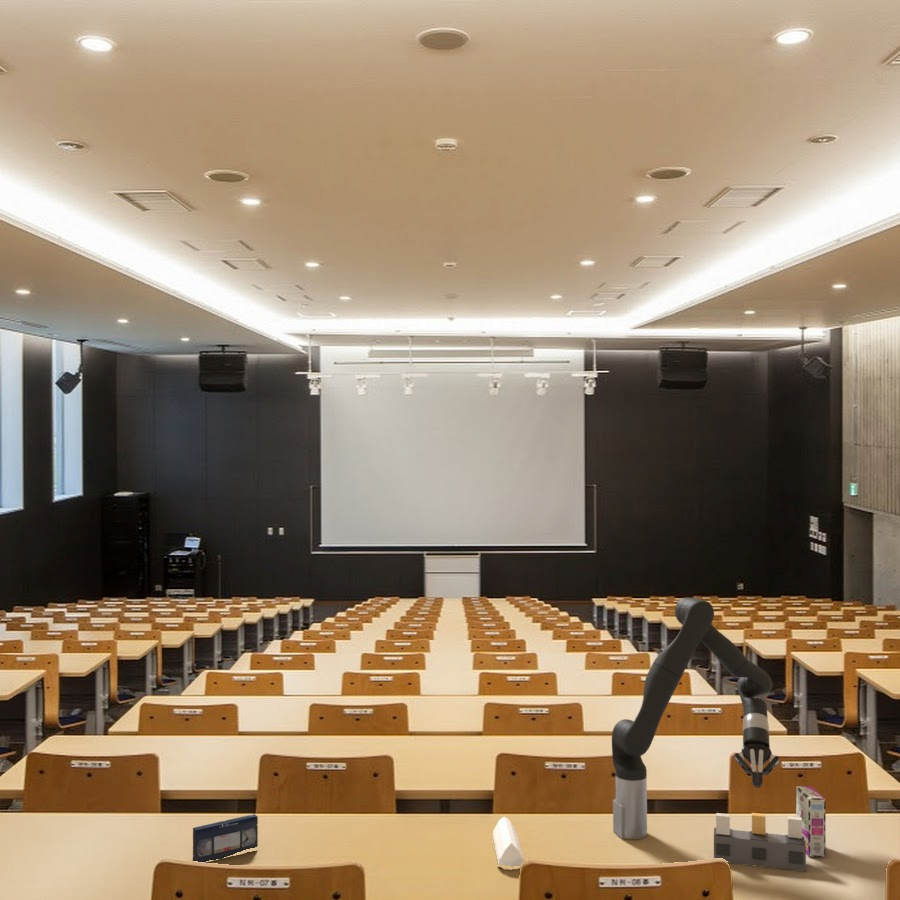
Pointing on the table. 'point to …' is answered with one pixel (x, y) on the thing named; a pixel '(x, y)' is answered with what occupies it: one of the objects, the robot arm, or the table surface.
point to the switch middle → (758, 823)
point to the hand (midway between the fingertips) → (757, 786)
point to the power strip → (761, 849)
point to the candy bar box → (812, 819)
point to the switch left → (723, 824)
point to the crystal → (507, 844)
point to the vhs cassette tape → (225, 838)
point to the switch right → (795, 827)
